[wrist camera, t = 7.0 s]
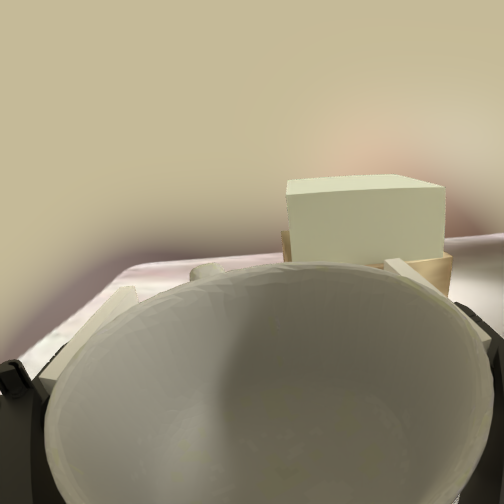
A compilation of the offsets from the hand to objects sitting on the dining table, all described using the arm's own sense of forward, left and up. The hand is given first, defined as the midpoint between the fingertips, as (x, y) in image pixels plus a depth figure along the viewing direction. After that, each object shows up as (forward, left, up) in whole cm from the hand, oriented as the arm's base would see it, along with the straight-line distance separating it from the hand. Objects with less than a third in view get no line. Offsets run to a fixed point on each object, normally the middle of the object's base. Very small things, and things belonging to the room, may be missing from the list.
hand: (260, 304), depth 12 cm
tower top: (-8, -12, -2) cm, 15 cm away
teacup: (0, +4, -6) cm, 7 cm away
